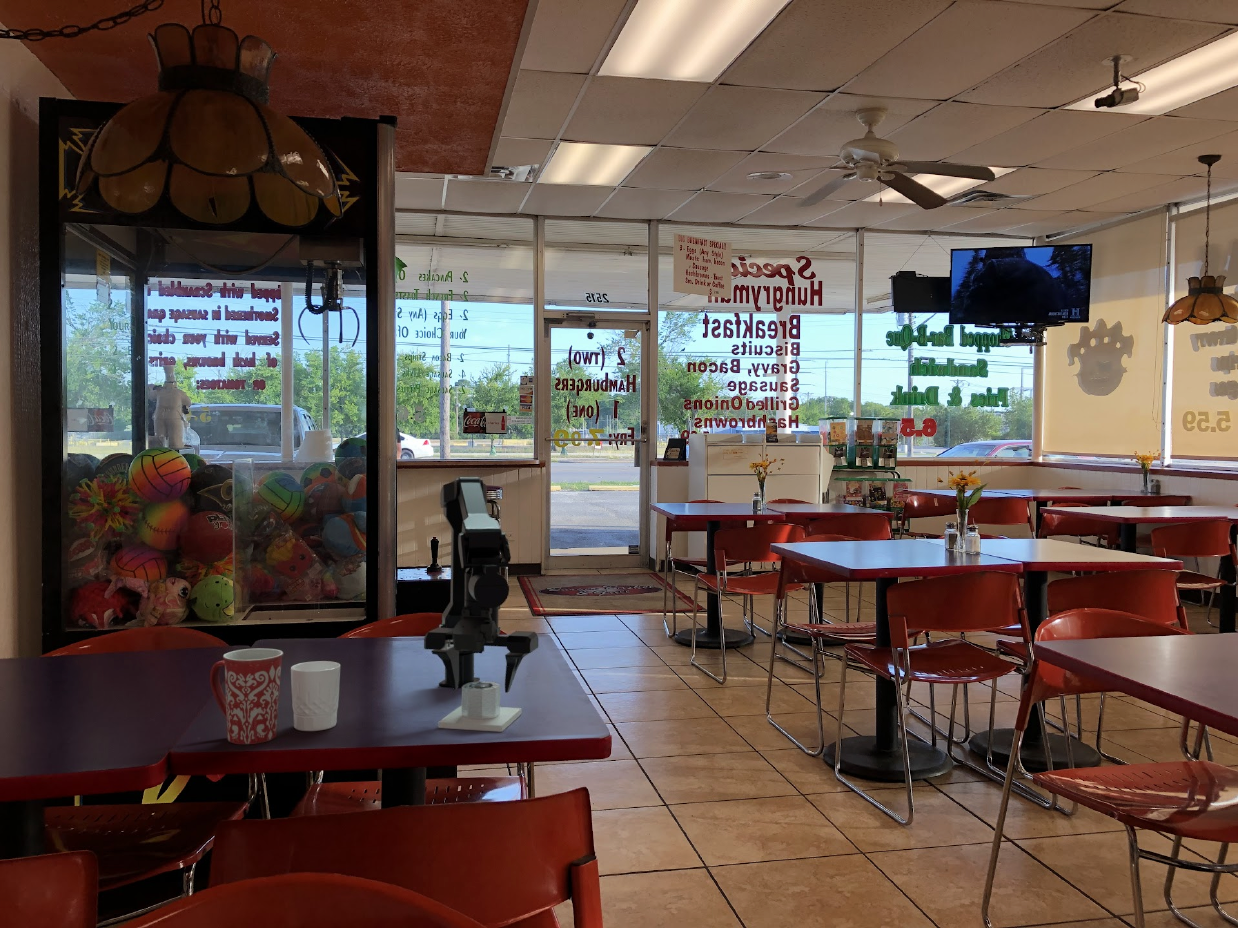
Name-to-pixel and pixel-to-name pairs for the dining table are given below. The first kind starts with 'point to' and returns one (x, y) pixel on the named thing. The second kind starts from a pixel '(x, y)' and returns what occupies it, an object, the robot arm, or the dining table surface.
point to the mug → (249, 693)
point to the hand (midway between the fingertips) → (481, 690)
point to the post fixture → (494, 724)
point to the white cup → (315, 694)
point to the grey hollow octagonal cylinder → (480, 701)
